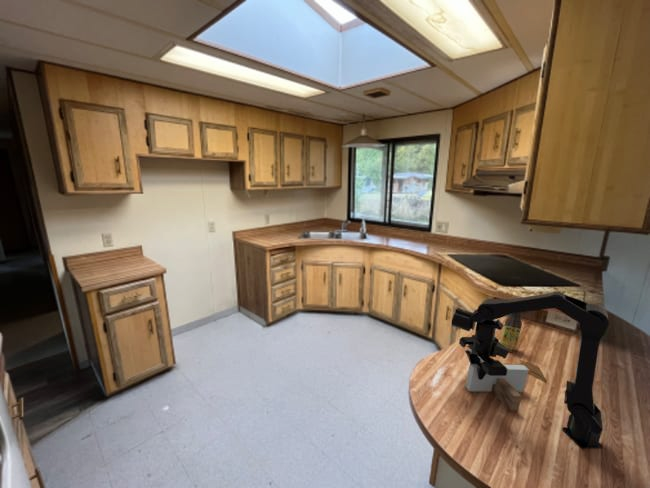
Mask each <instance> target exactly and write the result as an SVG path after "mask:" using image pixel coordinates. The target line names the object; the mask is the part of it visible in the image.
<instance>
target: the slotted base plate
mask: <svg viewBox="0 0 650 488" xmlns="http://www.w3.org/2000/svg"><path fill="white" fill-rule="evenodd" d="M481 361H482V360H481ZM481 361H480V363H481ZM491 392H493V394H494V395H495V396H496V397H497V398H498V400H500V402H501V403H502V404H503V405H504V406H505V407H506V408H507V410H508V411H509V412H510V413H513V412H515V413H517V412H519V407H520V403H521V400H522V399H521V398H522V394H520V392H517V391H516V390H515V389H514V388H513V387H512V386H511V385H510V384H509V383H508V382H507V381H506V380H505V379H497V383H496V384H493V385H492V390H491Z"/></svg>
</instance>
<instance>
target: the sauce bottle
mask: <svg viewBox="0 0 650 488" xmlns="http://www.w3.org/2000/svg"><path fill="white" fill-rule="evenodd" d="M522 313H523V312H520V313H513V314H509V316H508V317H507V318H506V319H505V322H504V324H503V325H504V326H503V328H502V333H501V338H500V341H499V342H500V343H501V344H502V345H504V346H505V347H506V348H507V349H509V350H510V352H509V353H514V352H515V351H516V350H517V346H518V343H519V339H520V335H521V331H522V326H523V325H522V323H523V322H522V320H521V316H522Z"/></svg>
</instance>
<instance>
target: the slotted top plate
mask: <svg viewBox="0 0 650 488" xmlns="http://www.w3.org/2000/svg"><path fill="white" fill-rule="evenodd" d="M503 365H504V366H505V367H506V368H507V369H508V371H507V375H506V376H490V375H488V374H486V375H485V376H484V378H483V379H482V380H479V378H478V373H477V367H476V364H470V363H469V366H468V371H467V376H466V382H465V387H466V389H467V390H468V392H489V393H490V392H492V385H493V384H496V383H497V379H505V380H506V381H507V382H508V383H509V384H510V385H511V386H512V387H513V388H514V389H515V390H516V391H517V392H518V393H523V392H525V387H526V382H527V379H528V374H529V373H528V372H529V369H528V368H526V367H525V366H524V365H519V364H503Z"/></svg>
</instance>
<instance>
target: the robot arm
mask: <svg viewBox="0 0 650 488" xmlns="http://www.w3.org/2000/svg"><path fill="white" fill-rule="evenodd" d="M549 309H555V310H558V311H560V312H561V313H563V314H565V315H566V316H567V317H569V319H570V318H571V319H572V320H574V321H575V322H578V323H579V332H580V343H579V350H578V357H577V363H576V364H577V365H576V370H575V378H574V380H573V381H569V380H566V384H565V385H566V386H565V387H566V388H565V390H564V397H563V398H564V399H563V400H564V401H563V403H564V404H565V405H566V409H567V410H568V412H569V413H570V414H568V415H569V416H568V420H567V422H566V427H562V428H561V430H562V431H563V432H564V433H565V434H567V436H568V437H570V439H571V440H572V441H573V442H575V443H576V445H577V446H578V447H580V448H581V449H602V448H604V446H603V444H602V443H600V439H601V436H602V432H603V430H604V429H603V427H604V426H603V417H602V411H601V409H600V408H599V407H598V406H597V405H596V403H595V399H594V398H595V397H594V389H593V386H594V379H595V374H596V366H597V360H598V356H599V355H598V354H599V347H600V343H601V342H602V340H603V338H604V337H605V336H606V335H605V334H606V332H607V330H608V328H609V326H610V321H609V317H608V312H607V310H606V309H605V308H604V307H602V305H599V304H596V303H588V302H586V301H584V300H582V299H579V298H576V297H572V296H569V295H567V294H565V293H563V292H561V291H552V292H550V293H549V292H547V293H544V294H543V293H542V294H538V295H529V296H524V297H518V298H517V297H516V298H512V299H503V298H486V299H484V300H483V301H482V302H481V303H480V304H479V305H478V306H477V309H475V310H474V311H473V312H471V311H468V310H464V309H463V308H460V307H457V308H456V309H455V312H454V313H453V316H452V319H451V327H455V328H458V329H461V330H462V331H463V330H464V331H466V332H471V330H472V331H473V330H474V329H475V331H474V334H472V335H471V336H462V337H461V338H459V342H458V345H460V346H461V347H462V348H465V347H466V348H467V350H466V349H465V351H464V352H465V355H466V356H467V358H468V361H469V365H470V364H476V367H477V373H478V378H479V380H482V379H483V378H484V376H485V375H486V374H488V375H490V376H506V375H507V371H508V369H507V368H506V367H505V366H504V365H505V364H503V362H501V361H500V360H496V359H494V358H496V357H500V358H503V359H506V358H507V356H508V355H509V353H511V352H510V350H509V349H507V348H506V347H505V346H504V345H502V344H501V343H500V341H499V340H500V339H499V338H497V337H496V330H500V331H501V330H502V331H503V328H504V325H505V324H503V323H502V322H501V321H500V319H501V318H504V317H506V316H508V315H509V316H510V314H513V313H520V312H522V313H528V312H533V311H534V312H535V311H542V310H549ZM481 360H482V361H481ZM480 361H481V363H480Z"/></svg>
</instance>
